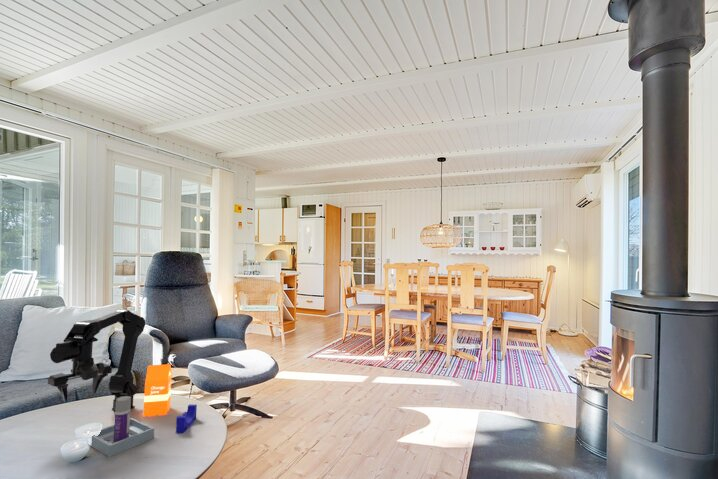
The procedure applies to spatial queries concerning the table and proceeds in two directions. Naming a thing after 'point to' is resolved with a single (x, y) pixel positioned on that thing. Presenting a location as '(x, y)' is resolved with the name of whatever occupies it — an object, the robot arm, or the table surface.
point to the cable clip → (186, 419)
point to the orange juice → (157, 390)
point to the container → (122, 418)
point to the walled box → (138, 431)
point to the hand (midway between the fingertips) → (80, 397)
